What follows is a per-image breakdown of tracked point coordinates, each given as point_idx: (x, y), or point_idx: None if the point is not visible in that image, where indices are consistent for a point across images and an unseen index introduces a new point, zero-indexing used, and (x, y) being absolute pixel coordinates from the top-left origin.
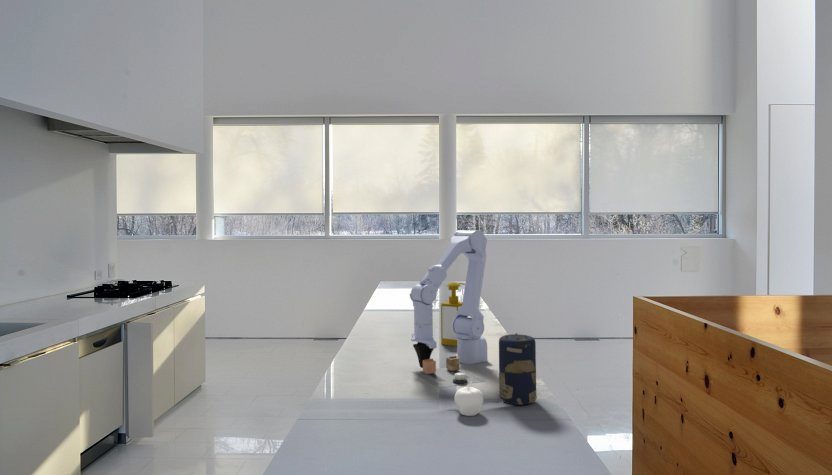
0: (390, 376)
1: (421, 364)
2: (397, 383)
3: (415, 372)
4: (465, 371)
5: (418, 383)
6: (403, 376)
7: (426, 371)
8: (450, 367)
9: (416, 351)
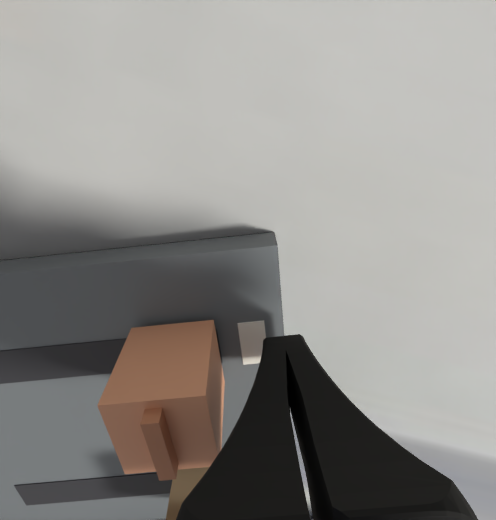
0: (335, 23)
1: (262, 356)
2: (50, 21)
3: (243, 265)
4: (165, 517)
5: (30, 215)
6: (282, 156)
7: (133, 339)
8: (172, 490)
9: (356, 437)
